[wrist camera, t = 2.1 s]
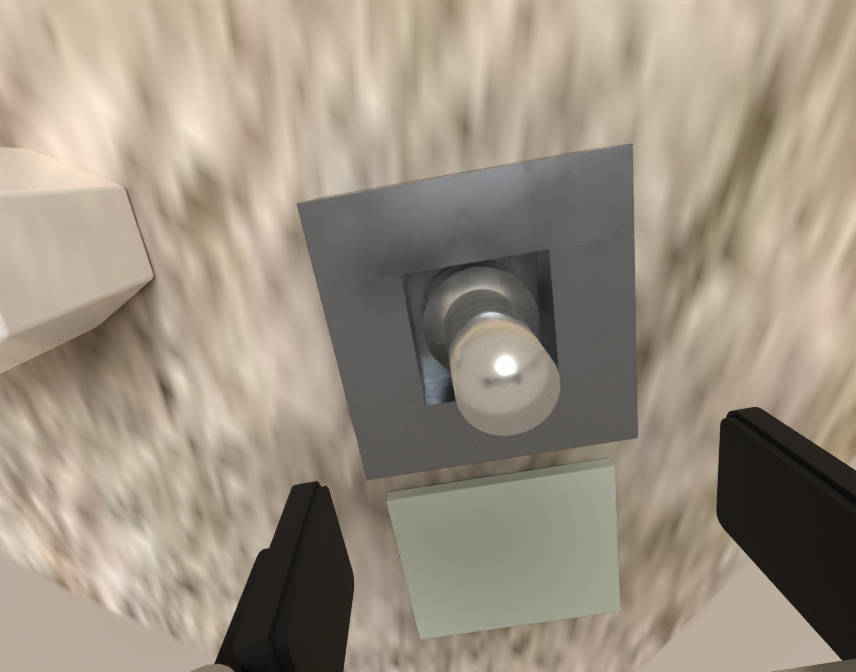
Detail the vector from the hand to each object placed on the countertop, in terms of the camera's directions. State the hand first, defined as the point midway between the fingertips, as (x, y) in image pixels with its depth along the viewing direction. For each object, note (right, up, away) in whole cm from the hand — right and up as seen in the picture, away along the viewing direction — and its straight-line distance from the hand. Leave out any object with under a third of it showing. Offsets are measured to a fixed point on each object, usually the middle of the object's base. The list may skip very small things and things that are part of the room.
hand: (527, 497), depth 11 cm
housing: (0, +5, +14) cm, 15 cm away
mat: (+3, -10, +20) cm, 23 cm away
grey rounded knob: (0, +5, +13) cm, 14 cm away
